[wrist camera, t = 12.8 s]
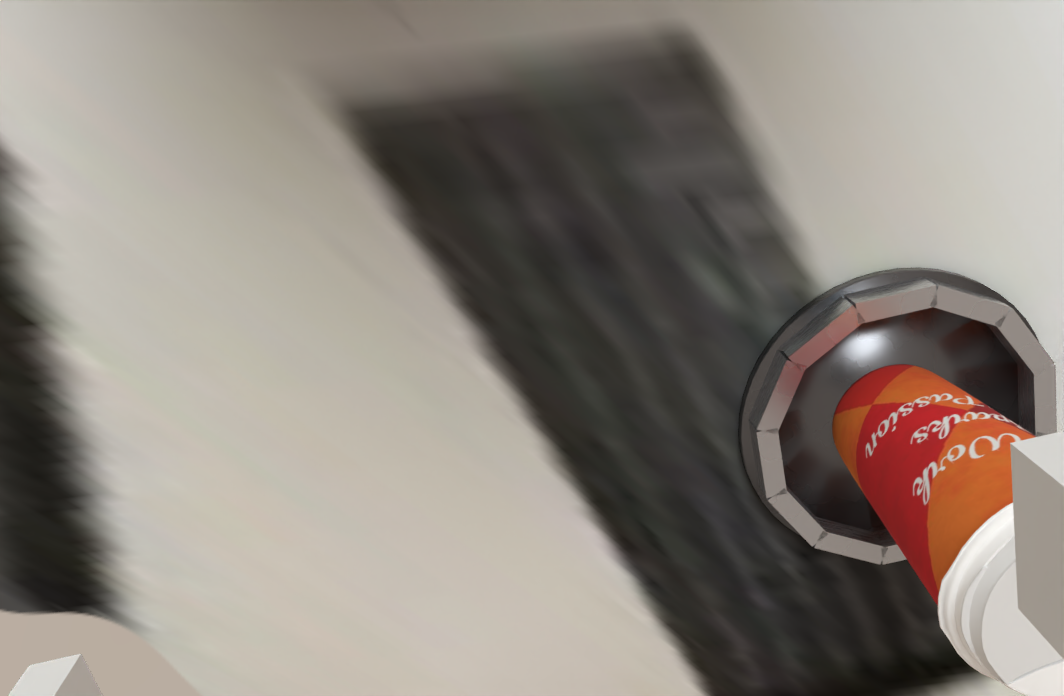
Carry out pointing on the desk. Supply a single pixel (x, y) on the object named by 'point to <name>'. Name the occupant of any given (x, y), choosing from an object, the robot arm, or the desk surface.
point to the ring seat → (853, 351)
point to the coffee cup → (949, 512)
